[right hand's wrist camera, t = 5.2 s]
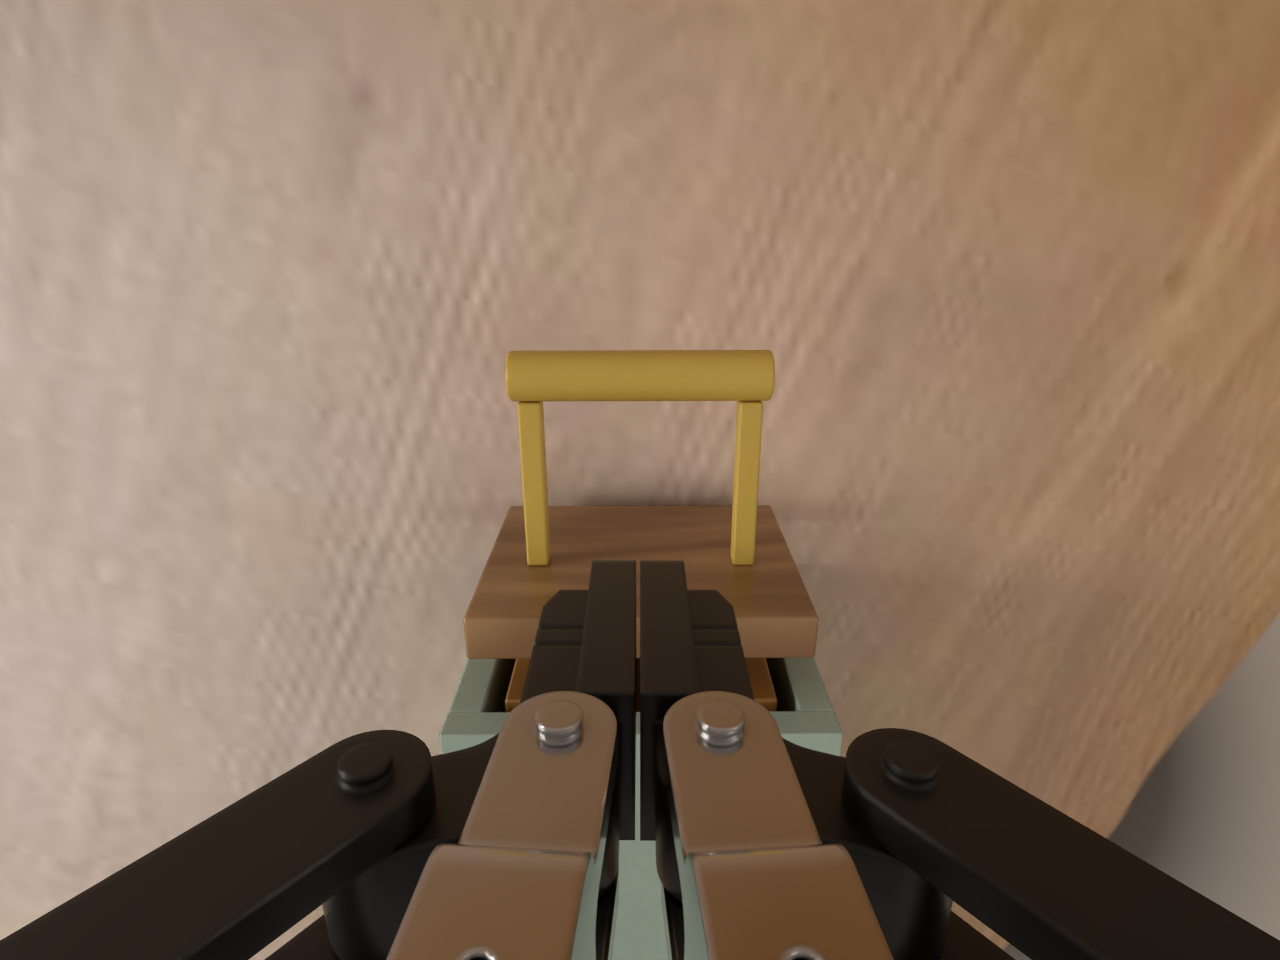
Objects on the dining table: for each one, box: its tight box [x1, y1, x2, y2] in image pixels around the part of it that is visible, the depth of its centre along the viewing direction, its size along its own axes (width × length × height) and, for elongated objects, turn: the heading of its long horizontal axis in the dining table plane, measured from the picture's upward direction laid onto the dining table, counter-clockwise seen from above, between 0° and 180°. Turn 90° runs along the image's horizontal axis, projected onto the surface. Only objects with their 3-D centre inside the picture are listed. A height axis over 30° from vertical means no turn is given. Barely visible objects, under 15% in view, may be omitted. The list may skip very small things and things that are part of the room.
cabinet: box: [440, 657, 843, 960], centre depth 26 cm, size 21×10×9 cm, turn 0°
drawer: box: [463, 350, 818, 712], centre depth 24 cm, size 26×9×7 cm, turn 0°
